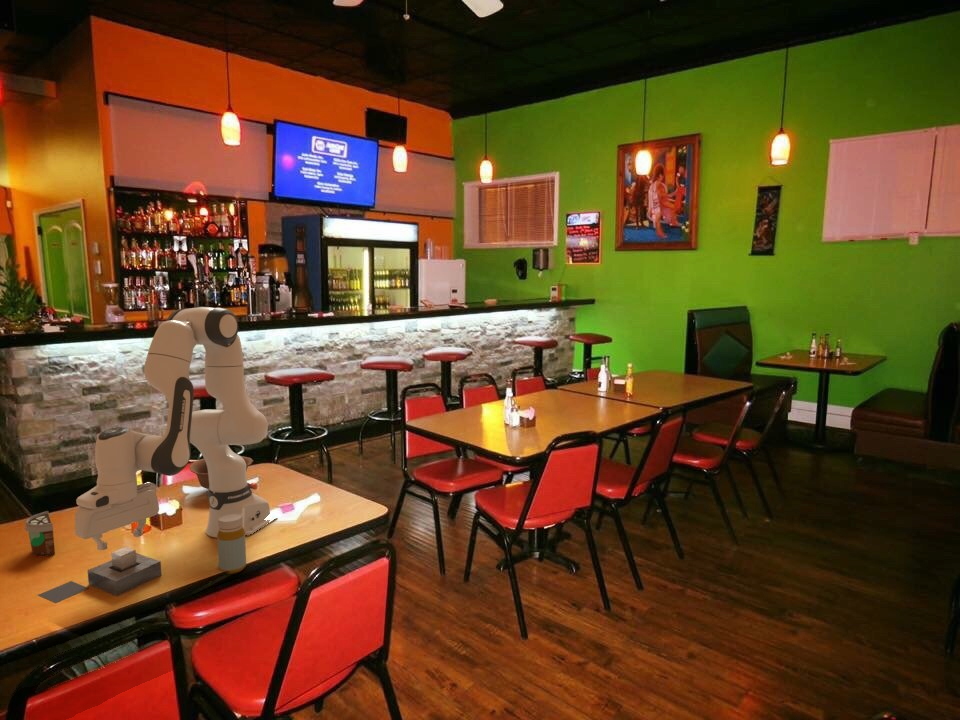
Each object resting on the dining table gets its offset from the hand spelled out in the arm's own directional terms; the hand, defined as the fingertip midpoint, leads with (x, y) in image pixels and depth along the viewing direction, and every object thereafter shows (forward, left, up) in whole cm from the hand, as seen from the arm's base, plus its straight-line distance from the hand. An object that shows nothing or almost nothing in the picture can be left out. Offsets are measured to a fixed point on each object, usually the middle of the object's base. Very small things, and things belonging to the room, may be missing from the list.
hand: (120, 542), depth 157 cm
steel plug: (-1, 0, -11) cm, 11 cm away
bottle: (-20, +18, -12) cm, 29 cm away
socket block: (-1, 0, -12) cm, 12 cm away
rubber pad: (+10, -8, -12) cm, 18 cm away
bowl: (-61, -35, -12) cm, 71 cm away
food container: (0, -40, -12) cm, 41 cm away
